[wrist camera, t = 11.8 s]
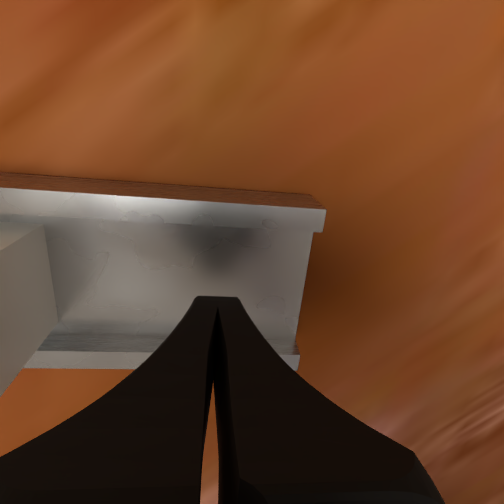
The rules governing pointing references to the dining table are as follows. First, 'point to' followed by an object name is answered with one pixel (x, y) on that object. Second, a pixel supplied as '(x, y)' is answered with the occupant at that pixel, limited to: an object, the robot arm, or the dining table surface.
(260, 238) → the rail
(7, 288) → the module
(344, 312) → the dining table surface
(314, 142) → the dining table surface
